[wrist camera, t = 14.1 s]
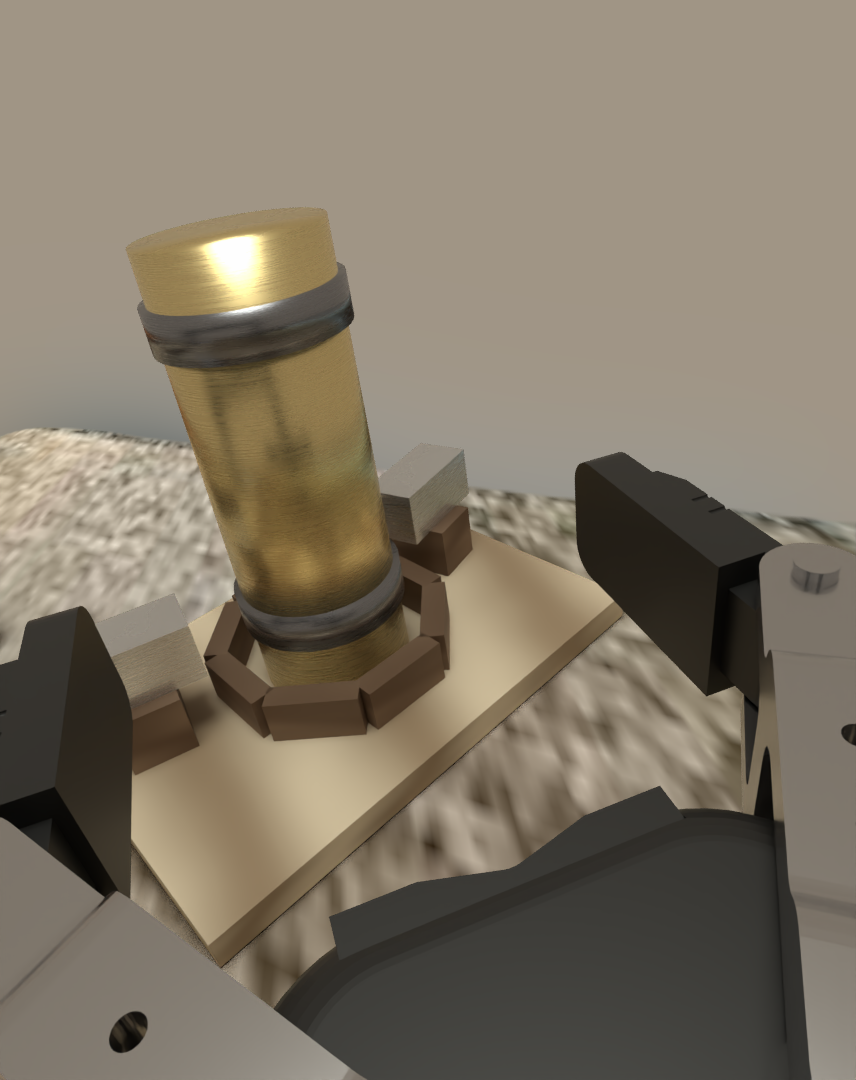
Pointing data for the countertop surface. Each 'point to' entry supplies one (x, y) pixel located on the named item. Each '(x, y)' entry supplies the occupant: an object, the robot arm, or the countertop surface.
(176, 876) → the coupling base
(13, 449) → the countertop surface
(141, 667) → the pair of grey blocks
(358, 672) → the cylinder
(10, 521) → the countertop surface
